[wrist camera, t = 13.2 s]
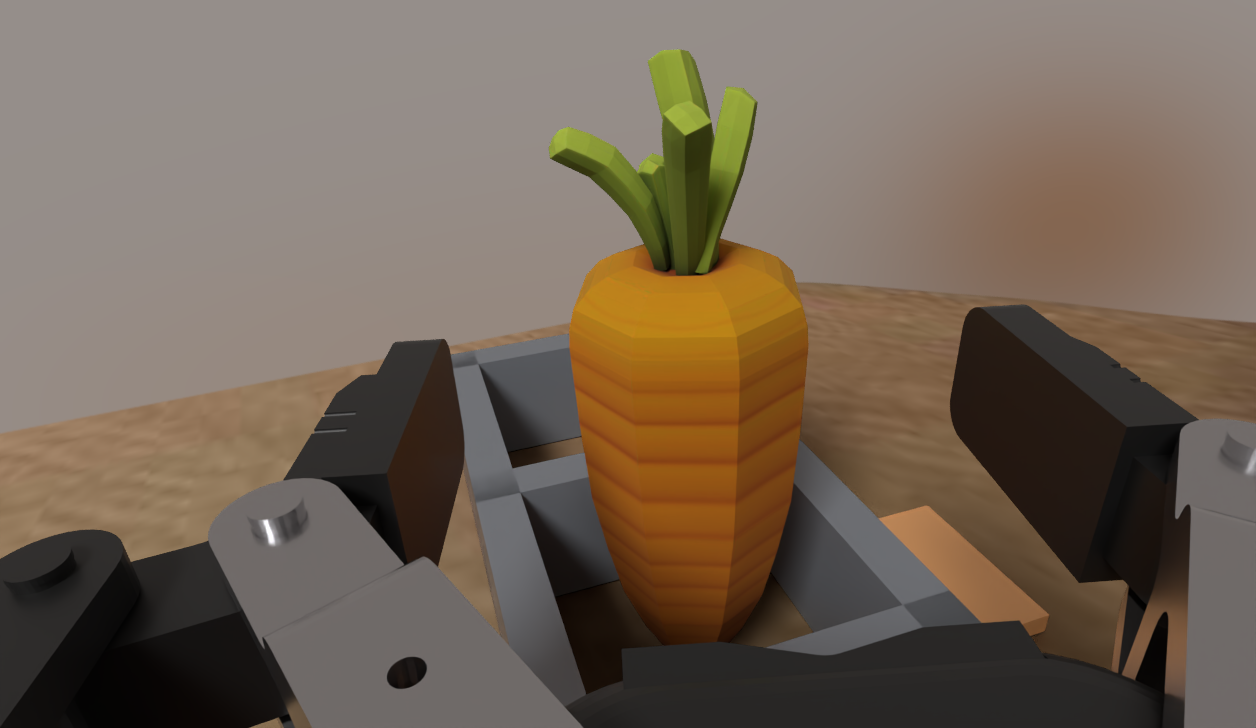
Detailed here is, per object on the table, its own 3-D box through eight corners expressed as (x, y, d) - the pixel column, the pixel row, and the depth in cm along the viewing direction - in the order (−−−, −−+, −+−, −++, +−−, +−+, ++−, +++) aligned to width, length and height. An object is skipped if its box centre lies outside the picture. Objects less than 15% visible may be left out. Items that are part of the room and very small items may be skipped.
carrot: (753, 781, 17) (778, 77, 10) (566, 700, 19) (476, 75, 12) (812, 625, 21) (862, 38, 14) (651, 572, 23) (622, 42, 16)
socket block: (773, 379, 33) (777, 296, 31) (1115, 696, 18) (1161, 573, 16) (458, 445, 30) (441, 356, 28) (561, 906, 15) (540, 778, 13)
